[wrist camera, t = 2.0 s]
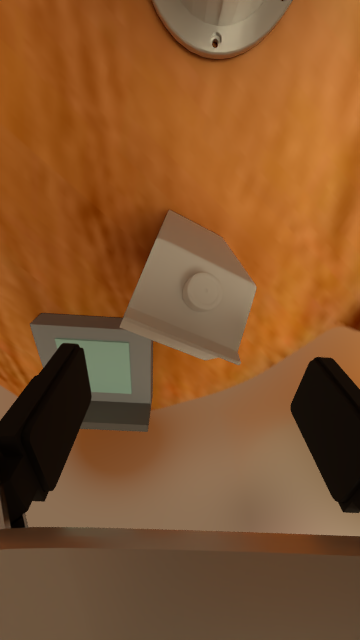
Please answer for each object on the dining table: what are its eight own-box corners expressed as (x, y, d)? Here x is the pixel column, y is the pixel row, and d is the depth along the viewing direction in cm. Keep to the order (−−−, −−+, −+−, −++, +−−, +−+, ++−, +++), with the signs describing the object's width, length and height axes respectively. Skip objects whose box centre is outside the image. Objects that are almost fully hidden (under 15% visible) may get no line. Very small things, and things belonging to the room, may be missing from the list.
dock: (41, 313, 34) (10, 342, 28) (153, 319, 34) (147, 349, 28) (62, 391, 42) (42, 426, 36) (152, 395, 42) (147, 431, 36)
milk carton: (195, 286, 32) (210, 401, 15) (145, 264, 30) (103, 365, 14) (222, 237, 28) (279, 316, 12) (169, 208, 27) (149, 255, 10)
